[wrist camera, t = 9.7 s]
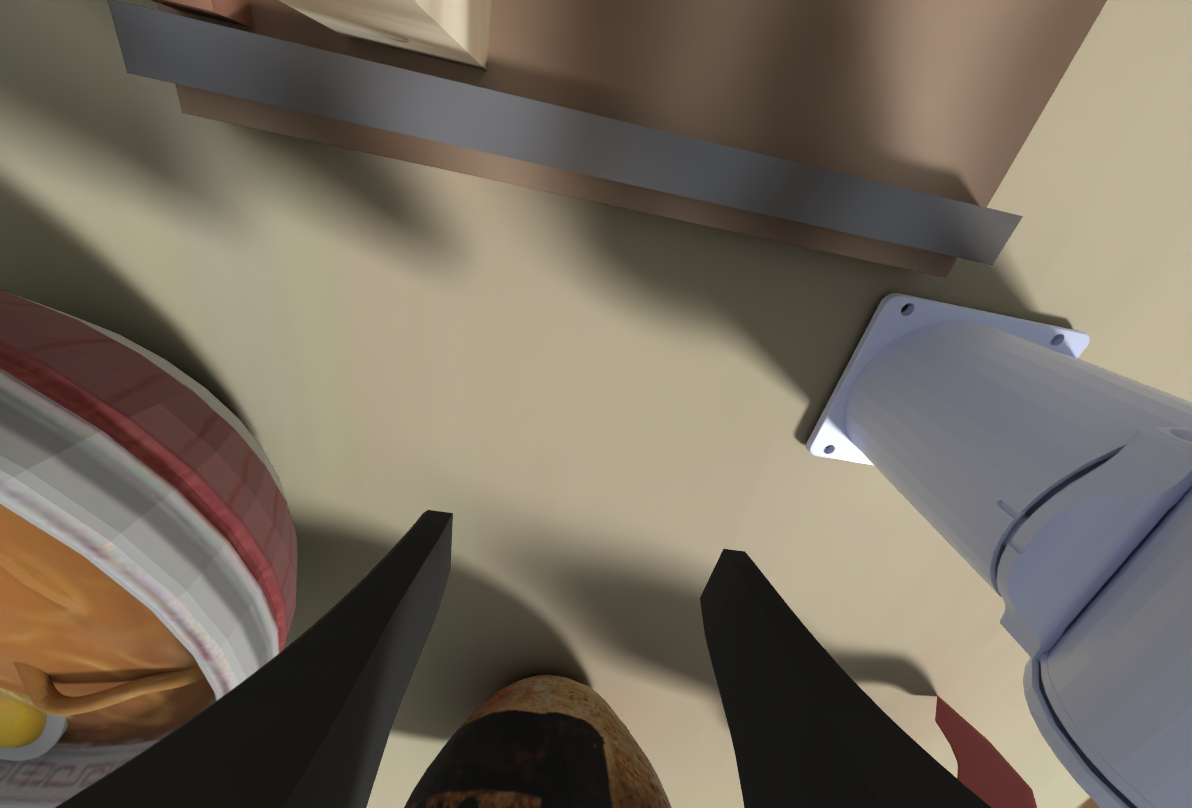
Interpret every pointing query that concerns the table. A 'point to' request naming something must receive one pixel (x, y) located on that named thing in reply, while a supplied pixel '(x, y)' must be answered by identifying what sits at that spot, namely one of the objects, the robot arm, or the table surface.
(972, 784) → the toy
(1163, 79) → the table surface
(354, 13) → the block
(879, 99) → the board
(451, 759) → the ceramic vessel
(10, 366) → the bowl
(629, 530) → the table surface
